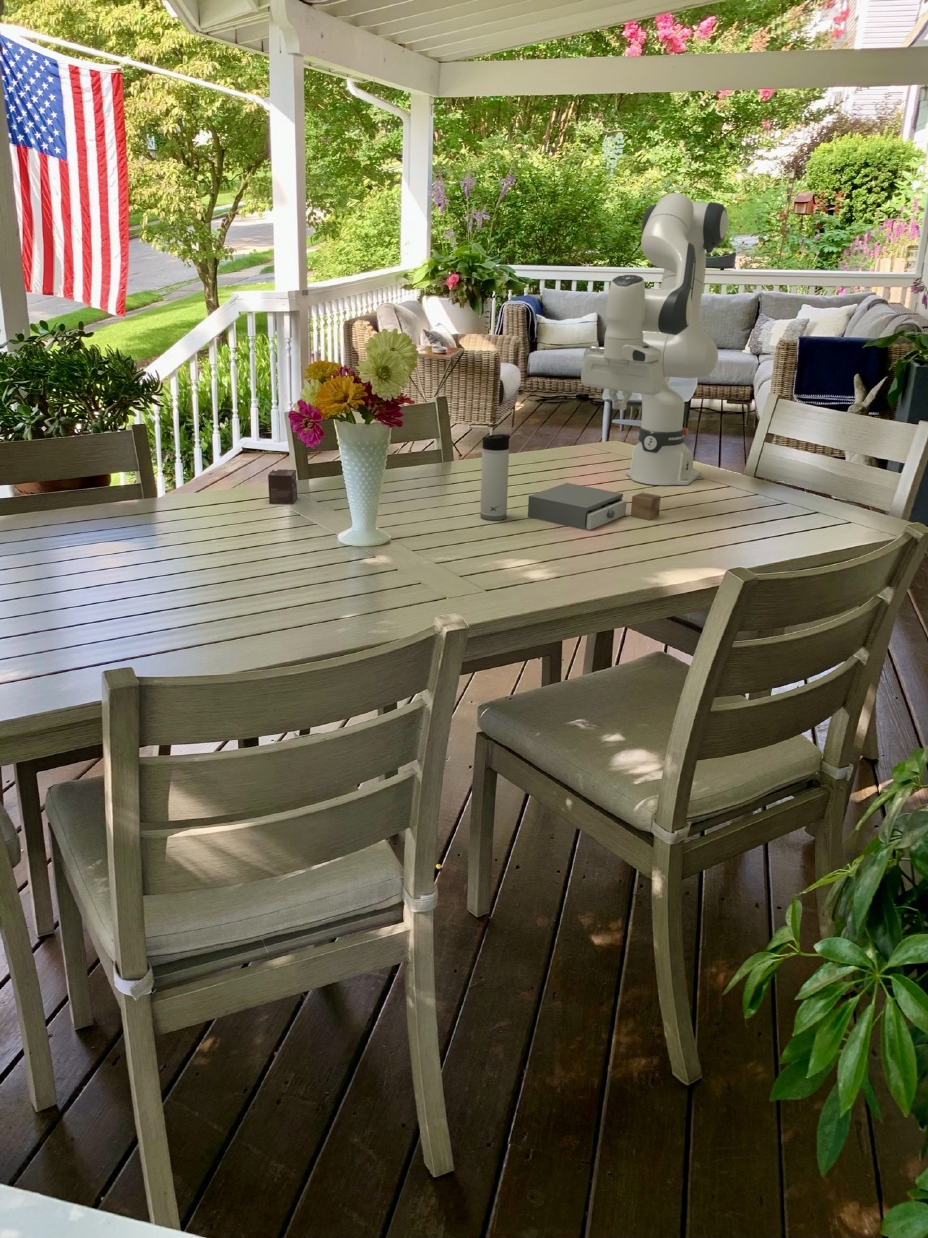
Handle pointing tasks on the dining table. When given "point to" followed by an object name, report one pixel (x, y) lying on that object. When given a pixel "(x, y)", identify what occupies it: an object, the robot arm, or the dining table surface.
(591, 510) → the teal flat dome
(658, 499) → the brown wooden cube
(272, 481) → the box
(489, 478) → the travel mug
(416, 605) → the dining table surface
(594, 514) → the light grey drawer
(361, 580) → the dining table surface
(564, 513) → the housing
